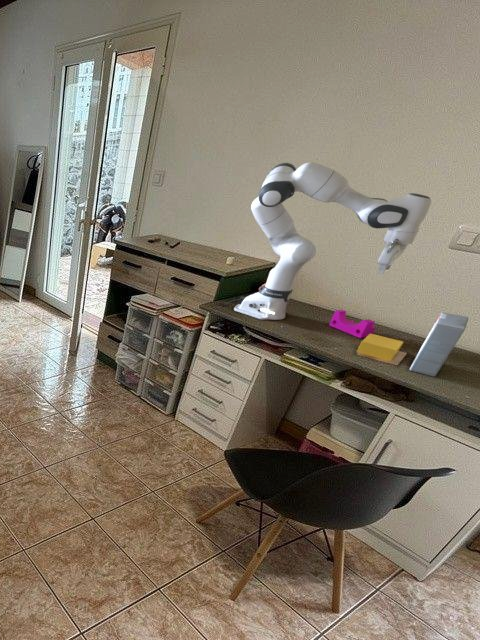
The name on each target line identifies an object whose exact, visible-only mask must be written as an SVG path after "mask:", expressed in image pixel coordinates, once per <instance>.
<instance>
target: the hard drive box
mask: <svg viewBox="0 0 480 640" xmlns="http://www.w3.org/2000/svg"><path fill="white" fill-rule="evenodd" d="M468 322H469V316H465V315H461V314H460V315H459V314H453V313H449V312H443V311H441V312H440V314H439V316H438V317H437V319H436V321H435V322H434V324H433V326H432V328H431V329H430V331H429V333H428V334H427V337H426V338H425V340H424V342H423V343H422V345H421V347H420V349H419V350H418V352H417V354H416V356H415V357H414V359H413V361H412V363H411V365H410V367H409V371H411V372H415V373H418V374H423V375H426V376H430V377H436V376H437V375H438V373H439V371H440V370H441V368H442V367H443V365H444V364H445V362H446V361H447V359H448V358H449V356H450V354H451V353H452V351H453V349H454V348H455V346H456V345H457V343H458V341H459V340H460V339H461V336H462V335H463V333H464V331H465V330H466V328H467V325H468Z"/></svg>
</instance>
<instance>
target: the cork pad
mask: <svg viewBox="0 0 480 640" xmlns="http://www.w3.org/2000/svg"><path fill="white" fill-rule="evenodd" d="M407 354H408V352H406V351H405V352H404V351H400V350H399V351H398V353H397V354H396V355H395V356H394V357H393V359H392V360H391V361H387V360H384V359H380V358H376V357H373V356H369V355H365V354H362V353H358V352H356V354H355V355H356V356H360V357H364V358H367V359H370V360H374V361H378V362H381V363H385V364H389V365H393V366H396V367H397V366H398V365H399V364H400V363H401V362H402V360H404V358H405V357H406V356H407Z"/></svg>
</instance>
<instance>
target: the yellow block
mask: <svg viewBox="0 0 480 640" xmlns="http://www.w3.org/2000/svg"><path fill="white" fill-rule="evenodd" d="M403 344H404V340H399V339H395V338H390V337H386V336H383V335H379V334H374V333H373V334H369V335H368V336H367V337H364V338H363V340H361V342H360V343H359V346H358V348H357V350H356V353H362V354H365V355H369V356H373V357H376V358H380V359H384V360H387V361H391V360H392V359H393V357H394V356H395V355H396V354H397V353H398V351H400V349H401V348H402V346H403Z"/></svg>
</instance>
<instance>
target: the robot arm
mask: <svg viewBox="0 0 480 640" xmlns="http://www.w3.org/2000/svg"><path fill="white" fill-rule="evenodd" d="M297 192H300V193H302V194H304V195H306V196H307V197H310V198H312V199H314V200H316V201H319V202H322V203H326V204H327V203H328V204H329V203H337V204H339V205H341V206H343V207H345V208H347V209H349V210H351V211H353V212H354V213H355V214H356V216H357V219H359V221H360V222H362V223H363V224H365V225H367V226H368V227H370V228H373V229H387V231H386V234H385V235H384V237H383V242H385V244H384V245H385V246H384V247H383V250H382V251H381V254H380V256H379V257H378V260H377V263H376V264H377V265H379V266H378V270H377V272H376V274H377V275H383V274H385V271H388V270H389V269H391V267H392V265H393V264H394V262H395V261H396V260H397V259H398V258H400V257H401V256H402V255H403V254H404V252H405V250H406V249H407V247H408V245H411V244H413V243H414V241H415V239H416V237H417V235H418V233H419V230H420V226H421V224H422V223H423V222H424V220H425V219H426V216H427V214H428V213H429V210H430V207H431V204H432V199H431V197H429V196H428V195H426V194H425V195H424V194H420V193H415V192H413V193H412V192H410V193H407V194H405V195H403V196H401V197H398V198H395V199H391V200H387V199H386V198H381V197H369V196H367V195H365V194H363V193H361V192H359V191H357V190H355V189H354V188H352V186H350V183H349V180H348V179H347V178H346V177H345V176H344V175H342V174H341V173H340V172H337V171H336V170H334V169H332V168H330V167H328V166H325V165H323V164H320V163H317V162H313V161H308V162H305V163H303V164H301V165H300V166H299V167H296V166H295V165H294V164H292V163H289V162H282V163H279V164H277V165H275V166H274V167H272V169H271V170H270V171H269V172H268V173H267V175H266V177H265V179H264V180H263V182H262V185H261V188H260V190H259V192H258V196H257V197H256V198H254V199H253V201H252V202H251V205H250V210H251V213H252V215H253V217H254V219H255V221H256V223H257V224H258V226H259V227H260V228H261V230H262V232H263V233H264V234H265V236H266V238H267V239H268V242H269V244H270V246H271V248H272V250H273V252H274V253H275V255H277V256H279V260H278V262H277V264H276V265H275V266H274V267H273V268H272V269H271V270H270V271H269V273H268V277H267V280H266V283H264V284H262V285H261V286H259V288H258V291H257V292H254V293H252V294H250V295H247V296H242V295H241V296H240V297H239V298H236V299H232V300H231V299H230V300H229V301H228V302H227V303H220V304H219V305H221V306H224V307H225V306H228V305H230V304H231V303H232V302H237V301H238V302H237V304H236V305H235V306H234V308H233V310H234V311H235V312H238V313H241V314H244V315H247V316H250V317H253V318H255V319H259V320H261V321H262V320H263V321H264V320H271V321H272V320H273V321H278V320H279V321H280V320H283V319H285V318H286V311H287V305H288V303H289V301H290V299H291V297H292V294H293V287H294V285H295V282H296V280H297V277H298V276H299V273H300V272H301V270H303V268H304V266H305V265H306V264H307V263H309V262H310V261H312V259H313V258H315V256H316V254H317V247H316V245H315V244H314V243H313V242H312V240H310V239H308V238H306V237H304V236H302V235H301V234H299V232H298V230H297V229H296V225H295V221H294V219H293V218H292V216H291V214H290V213H289V211H288V210H287V208H286V207H285V205H284V204H283V203H284V202H285V201H287V200H288V199H290V198H292V197H293V196H294V194H295V193H297Z"/></svg>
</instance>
